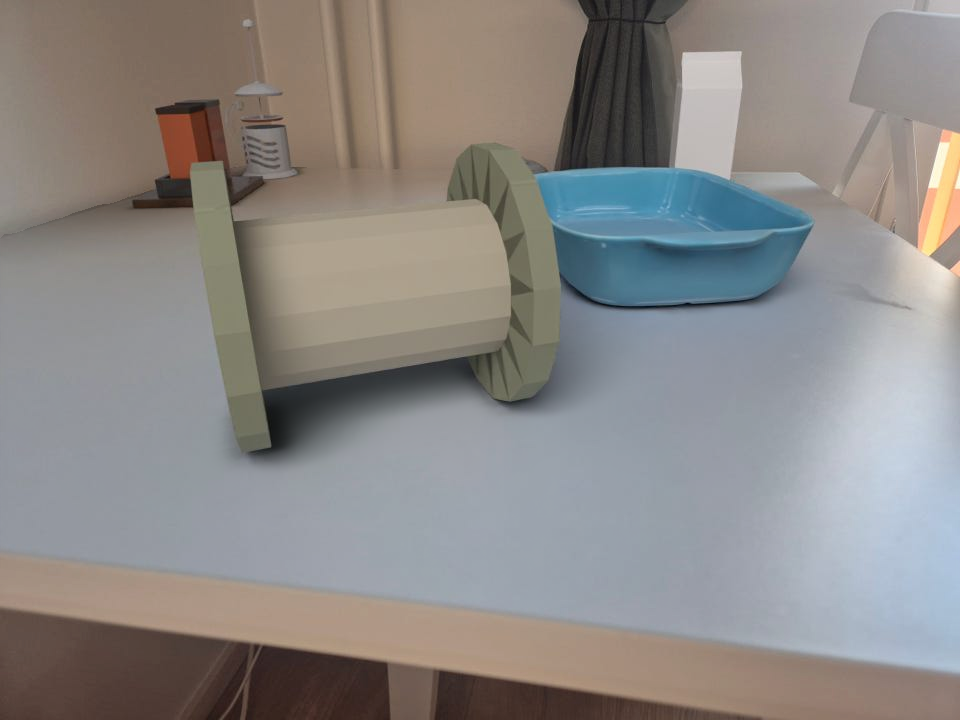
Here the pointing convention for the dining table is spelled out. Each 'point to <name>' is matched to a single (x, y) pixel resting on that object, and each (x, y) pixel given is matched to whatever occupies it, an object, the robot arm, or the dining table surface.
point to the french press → (263, 133)
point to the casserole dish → (668, 235)
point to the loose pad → (184, 137)
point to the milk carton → (706, 112)
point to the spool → (382, 287)
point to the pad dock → (180, 189)
